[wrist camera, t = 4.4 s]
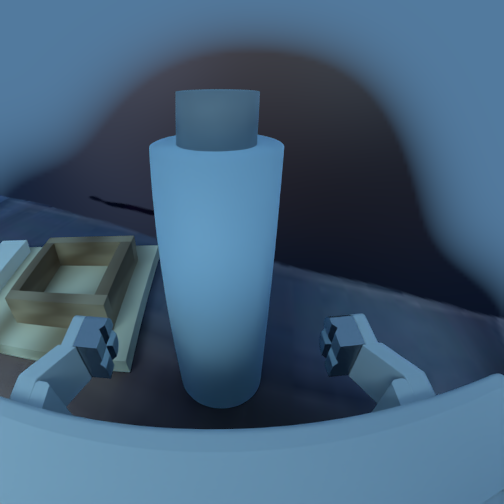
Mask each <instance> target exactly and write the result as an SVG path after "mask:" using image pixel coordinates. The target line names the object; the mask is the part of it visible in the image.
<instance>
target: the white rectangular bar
mask: <svg viewBox="0 0 504 504" xmlns="http://www.w3.org/2000/svg"><path fill="white" fill-rule="evenodd" d="M30 252H31V251H30V248H29V245H28V242H27V240H14V241H2V242H1V243H0V292H1V290H2V289H3V288H4V286H5V285H6V283H7V282H8V281H9V279H10V278H11V277H12V275H13V274H14V273H15V271H16V270H17V269H18V267H19V266H20V265H21V264H22V262H23V261H24V260H25V259H26V257H27V256H28V255H29V254H30Z"/></svg>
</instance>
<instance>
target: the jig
mask: <svg viewBox="0 0 504 504" xmlns="http://www.w3.org/2000/svg"><path fill="white" fill-rule="evenodd" d="M29 248H30V251H31V252H30V254H29V255H28V256H27V257H26V259H25V260H24V261H23V262H22V264H21V265H20V266H19V267H18V269H17V270H16V271H15V273H14V274H13V275H12V277H11V278H10V279H9V281H8V282H7V283H6V285H5V286H4V288H3V289H2V290H1V292H0V353H3V354H7V355H12V356H16V357H21V358H26V359H31V360H37V361H38V360H39V359H40V358H41V357H43V356H44V355H45V354H47V353H48V352H49V351H50V350H52V349H53V348H54V347H56V346H57V345H61V344H62V341H63V339H64V337H65V334H66V332H67V330H68V328H69V326H70V323H71V321H72V319H73V317H74V316H76V315H79V316H92V317H103V318H110V319H111V320H112V323H113V328H112V330H113V331H114V332H115V333H116V334H117V337H118V342H119V347H118V354H117V357H115V358H114V359H113V363H114V369H113V371H119V372H130V371H131V366H132V361H133V357H134V352H135V348H136V343H137V339H138V335H139V331H140V327H141V323H142V319H143V315H144V311H145V307H146V303H147V299H148V295H149V292H150V288H151V284H152V281H153V277H154V274H155V270H156V267H157V263H158V260H159V257H160V256H159V249H158V245H151V246H136V244H135V238H134V236H97V237H61V238H50V239H49V240H48V241H47V242H46V244H45V245H44V246H43V247H29Z"/></svg>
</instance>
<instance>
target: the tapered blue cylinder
mask: <svg viewBox="0 0 504 504" xmlns="http://www.w3.org/2000/svg"><path fill="white" fill-rule="evenodd" d="M259 95H260V92H259V91H252V90H234V89H230V90H229V89H205V90H186V91H176V135H175V136H170V137H167V138H163V139H160V140H158V141H156V142H154V143H152V144H151V145H150V147H149V153H150V169H151V181H152V194H153V205H154V214H155V224H156V232H157V241H158V249H159V256H160V263H161V270H162V277H163V284H164V290H165V296H166V302H167V308H168V313H169V319H170V324H171V330H172V335H173V340H174V345H175V350H176V355H177V359H178V364H179V369H180V373H181V377H182V382H183V385H184V388H185V390H186V391H187V393H188V394H189V395H190V396H191V397H192V398H193V399H194V400H195V401H197V402H199V403H200V404H202V405H205V406H208V407H212V408H222V409H223V408H231V407H235V406H238V405H241V404H243V403H244V402H246V401H248V400H249V399H250V398H251V397H252V396H253V395H254V394H255V393H256V391H257V389H258V387H259V385H260V380H261V371H262V363H263V355H264V346H265V338H266V329H267V320H268V311H269V302H270V293H271V283H272V274H273V264H274V253H275V243H276V233H277V223H278V212H279V201H280V190H281V178H282V167H283V154H284V145H283V144H282V143H281V142H280V141H278V140H275V139H273V138H270V137H266V136H261V135H258V116H259V97H260V96H259Z"/></svg>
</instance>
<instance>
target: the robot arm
mask: <svg viewBox="0 0 504 504" xmlns="http://www.w3.org/2000/svg"><path fill="white" fill-rule="evenodd" d="M324 327H325V329H324V330H323V331H322V332H321V335H320V350H321V354H322V355H323V356H324V357H325V358H326V361H325V367H326V370H327V373H328V376H329V377H332V376H342V375H349V377H350V378H351V379H352V380H353V381H355V382H356V383H357V384H358V385H359V386H360V387H361V388H362V389H363V390H364V391H365V392H366V393H367V394H368V395H369V396H370V397H371V398H372V399H373V400H374V401H375V402H376V403H377V405H376V406H375V408H374V409H373V411H372V412H371V413H367V414H362V415H357V416H352V417H346V418H341V419H335V420H328V421H321V422H314V423H307V424H298V425H289V426H278V427H265V428H247V429H179V428H161V427H149V426H138V425H129V424H121V423H113V422H106V421H100V420H94V419H88V418H83V417H77V416H73V415H72V414H71V412H70V411H69V410H68V409H67V408H66V406H67V405H68V404H69V403H70V402H71V401H72V400H73V399H74V397H75V396H76V395H77V394H78V393H79V392H80V391H81V390H82V389H83V387H84V386H85V385H86V384H87V383H88V382H89V381H90V380H91V379H92V377H98V378H109V379H111V377H112V373H113V369H114V363H113V359H114V358H115V357H117V354H118V347H119V342H118V337H117V334H116V333H115V332H114V331H113V330H112V328H113V323H112V320H111V319H110V318H103V317H92V316H79V315H76V316H74V317H73V319H72V321H71V323H70V326H69V328H68V330H67V332H66V334H65V337H64V339H63V341H62V344H61V345H57V346H56V347H54V348H53V349H52V350H50V351H49V352H48V353H47V354H45V355H44V356H43V357H41V358H40V359H39V360H38V361H36V362H35V363H34V364H32V365H31V366H30V367H29V368H27V369H26V370H25V371H24V372H22V373H21V374H20V375H19V377H18V379H17V381H16V384H15V386H14V389H13V391H12V394H11V396H10V399H7V398H4V397H1V396H0V504H504V375H502V374H499V373H497V374H493V375H490V376H488V377H485V378H483V379H480V380H478V381H475V382H473V383H470V384H467V385H465V386H462V387H459V388H456V389H454V390H451V391H448V392H445V393H442V394H439V395H435V393H434V391H433V389H432V386H431V384H430V382H429V380H428V378H427V376H426V374H425V372H423V371H422V370H421V369H419V368H418V367H416V366H415V365H413V364H412V363H410V362H409V361H408V360H406V359H405V358H403V357H402V356H400V355H399V354H397V353H396V352H394V351H393V350H392V349H390V348H389V347H387V346H386V345H384V344H383V343H378V341H377V339H376V337H375V335H374V333H373V331H372V329H371V327H370V325H369V323H368V321H367V319H366V317H365V315H364V314H351V315H339V316H327V317H326V318H325V321H324Z"/></svg>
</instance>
